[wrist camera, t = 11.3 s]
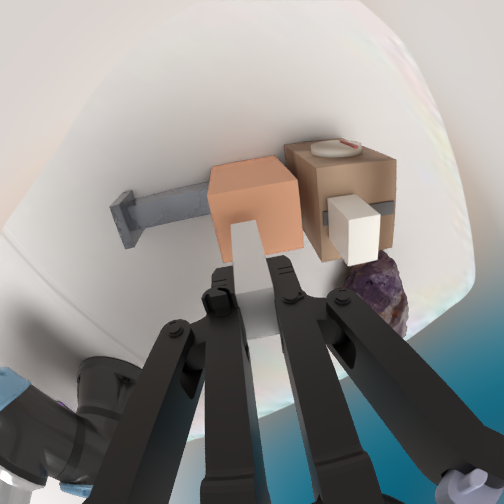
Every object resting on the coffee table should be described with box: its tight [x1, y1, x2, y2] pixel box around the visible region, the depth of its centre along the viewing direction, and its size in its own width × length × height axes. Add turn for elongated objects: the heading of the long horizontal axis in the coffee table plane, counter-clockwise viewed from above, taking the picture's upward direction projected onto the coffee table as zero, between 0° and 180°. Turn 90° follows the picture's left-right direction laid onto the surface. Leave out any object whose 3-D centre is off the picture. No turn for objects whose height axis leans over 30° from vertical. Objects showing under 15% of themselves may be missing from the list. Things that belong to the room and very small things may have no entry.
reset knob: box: [327, 194, 380, 266], centre depth 17 cm, size 2×3×4 cm, turn 10°
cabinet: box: [284, 138, 396, 262], centre depth 22 cm, size 6×8×10 cm
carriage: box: [207, 155, 304, 263], centre depth 23 cm, size 6×5×9 cm
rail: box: [110, 168, 293, 249], centre depth 25 cm, size 18×4×4 cm, turn 99°
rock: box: [343, 250, 409, 338], centre depth 31 cm, size 12×9×10 cm
